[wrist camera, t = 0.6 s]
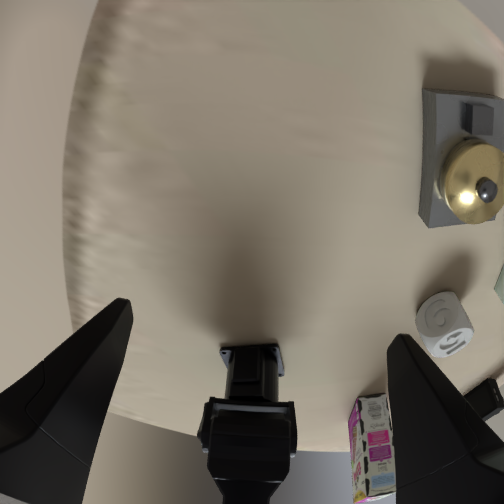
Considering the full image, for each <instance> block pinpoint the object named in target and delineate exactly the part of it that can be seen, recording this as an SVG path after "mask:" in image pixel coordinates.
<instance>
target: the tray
mask: <svg viewBox="0 0 504 504" xmlns="http://www.w3.org/2000/svg"><path fill="white" fill-rule="evenodd" d="M494 290H495V291H496V293H497V294H498V296H499V298H500V299H501V301H502V303H503V304H504V265H503V268H502V271H501V273H500V276H499V278H498V281H497V284H496V286H495V288H494Z"/></svg>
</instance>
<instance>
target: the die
mask: <svg viewBox="0 0 504 504" xmlns="http://www.w3.org/2000/svg"><path fill="white" fill-rule="evenodd" d="M415 323H416V326H417V329H418V332H419V334H420V336H421V338H422V340H423V342H424V344H425V346H426V348H427V349H428V351H429V352H430V353H431V355H432V356H434V357H438V358H442V357H447V356H450V355H453V354H455V353H457V352H458V351H460V350H461V349H463V348H464V347H465V346H466V345H467V344H468V343H469V342H470V340H471V338H472V336H473V333H474V328H473V326H472V324H471V322H470V320H469V318H468V316H467V314H466V312H465V310H464V308H463V306H462V305H461V303H460V301H459V300H458V298H457V296H456V295H455V293H454V292H448V291H445V292H440V293H437V294H435V295H433V296H431V297H430V298H429V299H427V300H426V301H425V302H424V303H423V304H422V306H421V307H420V309H419V311H418V313H417V315H416V319H415Z"/></svg>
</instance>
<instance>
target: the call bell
mask: <svg viewBox="0 0 504 504" xmlns="http://www.w3.org/2000/svg"><path fill="white" fill-rule="evenodd" d="M422 97H423V163H422V181H421V194H420V205H419V216H420V217H421V219H422V220H423V222H424V223H425V224H426V226H427V227H428V228H435V227H443V226H451V225H460V224H480V223H483V222H485V221H492V220H495V217H496V214H497V213H498V212H499V210H500V209H501V208H502V206H503V205H504V99H502V98H500V97H497V96H494V95H487V94H480V93H471V92H462V91H451V90H437V89H422Z"/></svg>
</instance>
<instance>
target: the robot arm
mask: <svg viewBox="0 0 504 504" xmlns="http://www.w3.org/2000/svg"><path fill="white" fill-rule="evenodd" d="M132 325H133V312H132V307H131V302H130V300H128V299H124V298H117V299H115V300H114V301H113V302H111V303H110V304H109V305H108V306H106V307H105V308H104V309H103V310H102V311H100V312H99V313H98V314H97V315H95V316H94V317H93V318H92V319H91V320H89V321H88V322H87V323H86V324H84V325H83V326H82V327H81V328H80V329H78V330H77V331H76V332H75V333H74V334H72V335H71V336H70V337H69V338H68V339H67V340H65V341H64V342H63V343H62V344H61V345H59V346H58V347H57V348H56V349H55V350H54V351H52V352H51V353H50V354H49V355H48V356H47V357H46V358H44V361H41V362H40V363H39V364H38V365H37V366H35V367H34V368H33V369H32V370H30V371H29V372H28V373H27V374H26V375H24V376H23V377H22V378H20V379H19V380H18V381H17V382H15V383H14V384H12V385H11V386H10V387H8V388H7V389H6V390H4V391H3V392H1V393H0V504H82V501H83V496H84V493H85V489H86V484H87V480H88V476H89V472H90V467H91V464H92V461H93V457H94V453H95V450H96V446H97V443H98V439H99V436H100V432H101V429H102V426H103V423H104V419H105V416H106V413H107V410H108V407H109V404H110V401H111V397H112V394H113V391H114V388H115V386H116V383H117V380H118V377H119V374H120V371H121V368H122V365H123V362H124V358H125V353H126V349H127V345H128V341H129V337H130V333H131V329H132ZM220 355H221V357H222V359H223V361H224V363H225V365H226V367H227V369H228V372H227V381H226V390H225V399H222V398H215V397H210V399H209V402H207V403H205V405H204V412H203V417H202V420H201V423H200V426H199V430H198V433H197V437H198V439H199V440H200V441H201V445H202V450H203V453H208V462H207V467H208V470H209V472H210V474H211V475H212V477H213V479H214V481H215V483H216V485H217V486H218V488H219V490H220V492H221V493H222V495H223V504H269V501H270V497H271V496H272V495H273V493H274V492H275V491H276V489H277V488H278V487H279V485H280V484H281V483H282V482H283V481H284V479H285V478H286V476H287V474H288V473H289V467H290V458H293V457H295V454H296V449H297V425H296V416H295V408H294V401H288V402H278V377H282V376H284V368H283V364H282V359H281V355H280V350H279V346H278V345H277V344H269V345H256V346H242V347H224V348H221V349H220ZM387 369H388V392H389V401H390V410H391V419H392V429H393V441H394V455H395V475H396V504H504V442H503V441H502V440H501V439H500V438H499V437H498V436H497V434H496V433H495V432H494V431H493V430H492V429H491V428H490V427H489V426H488V425H487V424H486V423H485V422H484V420H483V419H482V418H481V417H480V416H479V415H478V414H477V413H476V411H475V410H474V409H473V408H472V407H471V405H470V404H469V403H468V402H467V401H466V399H465V398H464V397H463V396H462V394H461V393H460V392H459V391H458V390H457V388H456V387H455V386H454V385H453V384H452V383H451V381H450V380H449V379H448V378H447V377H446V375H445V374H444V373H443V372H442V371H441V370H440V369H439V367H438V366H437V365H436V364H435V363H434V362H433V360H432V359H431V358H430V357H429V356H428V355H427V354H426V353H425V351H424V350H423V349H422V348H421V347H420V346H419V345H418V344H417V342H416V341H415V340H414V339H413V338H412V337H411V336H410V335H409V334H398V335H397V336H396V337H395V339H394V340H393V341H392V343H391V344H390V346H389V347H388V349H387Z"/></svg>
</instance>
